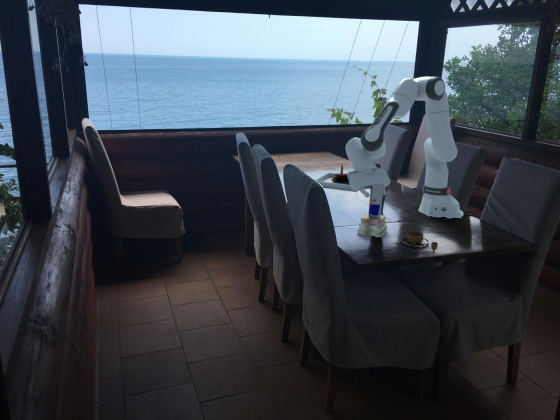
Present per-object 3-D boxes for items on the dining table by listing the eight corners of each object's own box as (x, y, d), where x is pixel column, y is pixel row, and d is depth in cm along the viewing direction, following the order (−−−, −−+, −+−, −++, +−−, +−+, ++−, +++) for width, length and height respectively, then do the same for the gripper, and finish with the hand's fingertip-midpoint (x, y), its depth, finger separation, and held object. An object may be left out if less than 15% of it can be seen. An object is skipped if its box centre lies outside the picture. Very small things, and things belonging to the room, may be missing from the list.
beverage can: (373, 214, 227) (375, 182, 222) (383, 217, 223) (386, 185, 218) (365, 216, 223) (368, 184, 218) (375, 219, 219) (378, 187, 215)
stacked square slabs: (386, 230, 228) (388, 215, 225) (381, 237, 218) (382, 222, 216) (363, 226, 232) (364, 211, 230) (357, 233, 222) (358, 218, 220)
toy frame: (368, 181, 319) (368, 177, 319) (355, 191, 296) (356, 186, 295) (328, 176, 331) (328, 172, 330) (313, 185, 307) (313, 180, 306)
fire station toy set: (351, 181, 320) (352, 165, 317) (357, 189, 301) (358, 172, 298) (329, 181, 319) (330, 164, 316) (334, 189, 300) (335, 171, 297)
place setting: (434, 241, 217) (435, 228, 216) (438, 258, 199) (439, 244, 197) (393, 237, 221) (395, 225, 219) (394, 254, 202) (395, 240, 200)
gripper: (348, 168, 217) (360, 194, 212) (385, 164, 227) (397, 189, 221) (342, 175, 222) (354, 201, 217) (378, 171, 232) (389, 196, 226)
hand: (376, 195), depth 219 cm, fingers open, 8 cm apart
